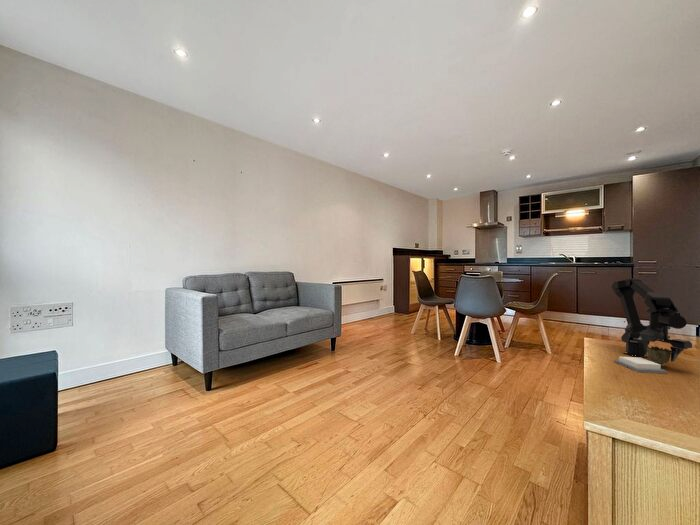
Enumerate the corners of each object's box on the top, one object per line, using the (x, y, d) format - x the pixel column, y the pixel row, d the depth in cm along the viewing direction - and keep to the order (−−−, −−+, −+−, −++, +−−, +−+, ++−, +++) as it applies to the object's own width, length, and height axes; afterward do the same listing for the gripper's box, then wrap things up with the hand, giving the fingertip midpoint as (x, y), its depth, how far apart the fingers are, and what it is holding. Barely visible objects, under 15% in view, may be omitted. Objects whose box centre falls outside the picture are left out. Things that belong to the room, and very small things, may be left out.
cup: (659, 363, 127) (659, 346, 127) (676, 369, 119) (676, 351, 119) (641, 362, 127) (641, 345, 127) (657, 368, 120) (658, 350, 120)
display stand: (613, 362, 127) (613, 355, 127) (639, 363, 126) (639, 356, 126) (638, 372, 115) (638, 364, 115) (667, 373, 114) (667, 366, 114)
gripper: (621, 320, 131) (620, 352, 131) (675, 329, 113) (675, 367, 113) (637, 319, 133) (637, 351, 133) (693, 328, 115) (692, 365, 115)
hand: (658, 358), depth 123 cm, fingers open, 9 cm apart
